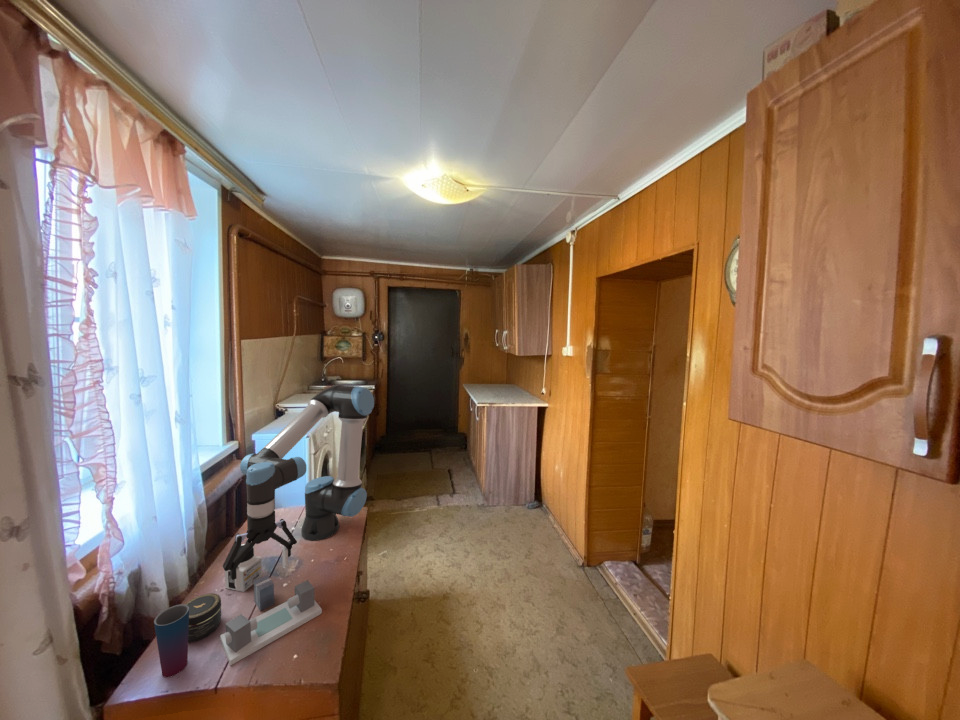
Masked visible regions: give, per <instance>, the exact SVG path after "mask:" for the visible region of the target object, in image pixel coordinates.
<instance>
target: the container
mask: <svg viewBox="0 0 960 720" xmlns="http://www.w3.org/2000/svg"><path fill="white" fill-rule="evenodd" d="M244 545H245V543H241V546H240V548H239V550H238V552H237V554H238V553H239V552H240V550H241V549H242V548H243V546H244ZM237 554H236V556H237ZM236 556H235V557H236ZM238 567H239V569H240V589H239V590H237V589H236V587H235V579H234V580H232V579H231V577H230V570H228V571H225V570H224V584H225V585H224V587H225V589H228V590H233V591H237V592H241V593H242V592H243V593H245V592H246V591H247V590H248V589H249V588H251V587H252V586H254V581H255V580H257V579H259V578H261V577H263V572H262V568H263V567H262V557H261V556H258V555H255V545H254V546H253V548H251V549H250V550H249V552H248V553H247V554H246V556H245V557H244V559H243V560H242V561H241V563H240V564H239V565H238Z"/></svg>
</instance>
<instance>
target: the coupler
mask: <svg viewBox="0 0 960 720" xmlns="http://www.w3.org/2000/svg"><path fill="white" fill-rule="evenodd" d="M253 594H254V595H253V596H254V600H253V601H254V602H255V605H256V607H257V608H258V610H259V611H260V612H262V611H264V610H266V609H268V608H270V607H271V606H274V605H275V584H274V582H273V581H272V578H270V576H269V574H266V575H264V576H262V577H261V578H259V579H257V580H255V581H254V584H253Z"/></svg>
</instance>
